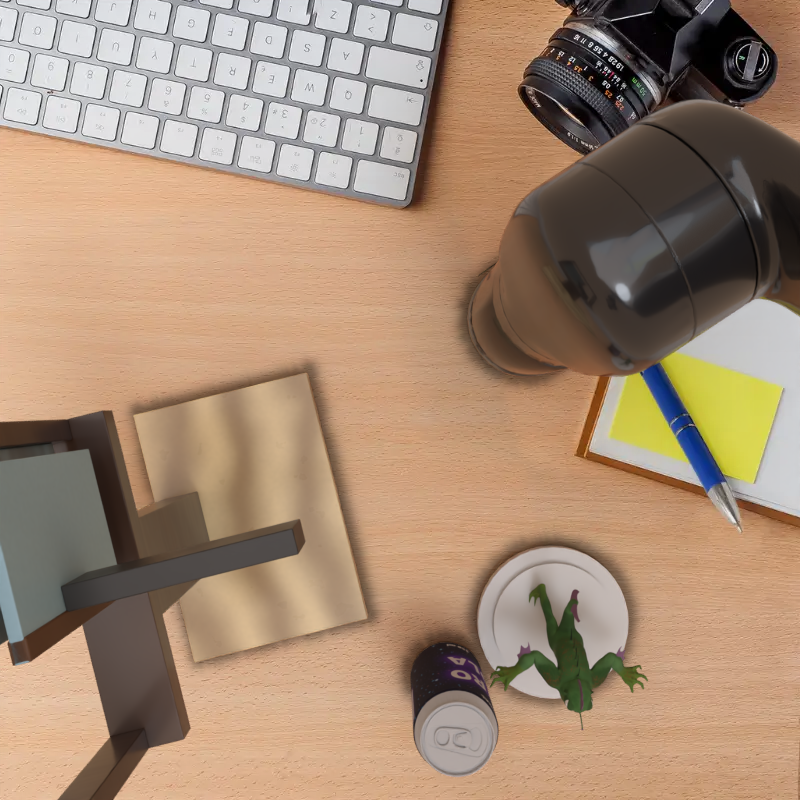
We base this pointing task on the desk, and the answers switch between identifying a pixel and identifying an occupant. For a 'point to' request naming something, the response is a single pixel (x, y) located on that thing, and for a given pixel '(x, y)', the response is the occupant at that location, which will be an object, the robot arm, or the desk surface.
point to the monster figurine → (555, 626)
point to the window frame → (122, 602)
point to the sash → (91, 552)
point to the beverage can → (452, 710)
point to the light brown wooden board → (257, 512)
